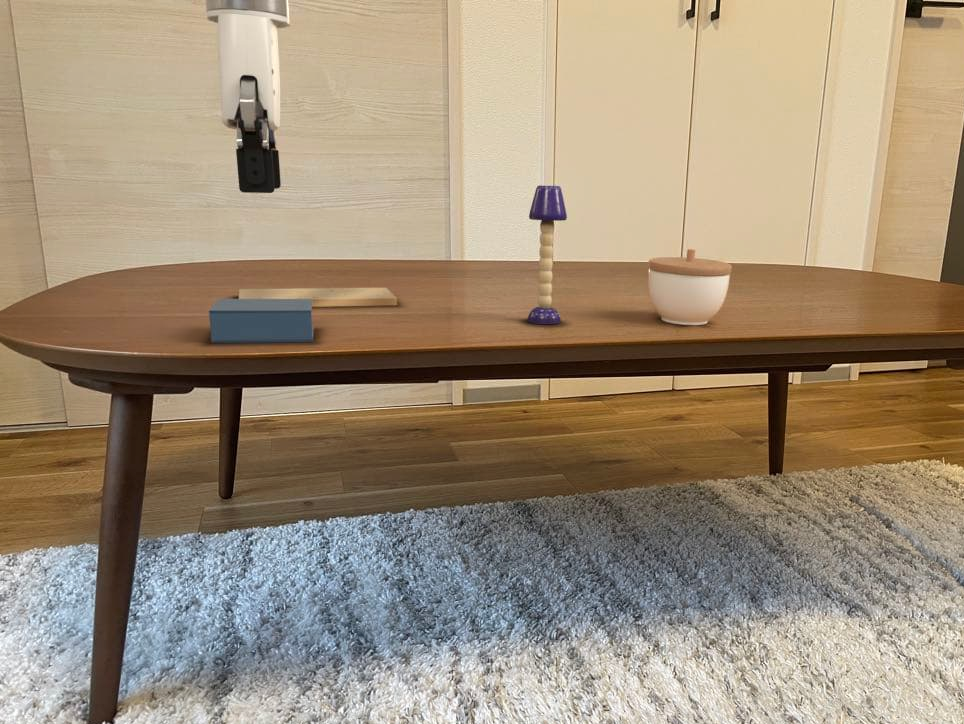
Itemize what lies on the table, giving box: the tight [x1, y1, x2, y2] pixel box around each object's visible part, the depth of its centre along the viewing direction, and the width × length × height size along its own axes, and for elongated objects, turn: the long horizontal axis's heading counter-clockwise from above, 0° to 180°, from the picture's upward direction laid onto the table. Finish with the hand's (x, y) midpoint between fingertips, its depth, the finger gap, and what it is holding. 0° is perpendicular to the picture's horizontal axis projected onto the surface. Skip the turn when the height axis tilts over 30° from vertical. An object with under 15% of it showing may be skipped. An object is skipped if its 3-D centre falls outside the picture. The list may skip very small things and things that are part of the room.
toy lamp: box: [527, 185, 568, 325], centre depth 97 cm, size 5×5×17 cm
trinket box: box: [647, 248, 733, 326], centre depth 102 cm, size 11×11×9 cm
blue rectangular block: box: [208, 298, 315, 344], centre depth 84 cm, size 10×7×3 cm
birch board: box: [238, 287, 398, 308], centre depth 106 cm, size 20×9×1 cm, turn 109°
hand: (261, 190), depth 80 cm, fingers open, 9 cm apart
